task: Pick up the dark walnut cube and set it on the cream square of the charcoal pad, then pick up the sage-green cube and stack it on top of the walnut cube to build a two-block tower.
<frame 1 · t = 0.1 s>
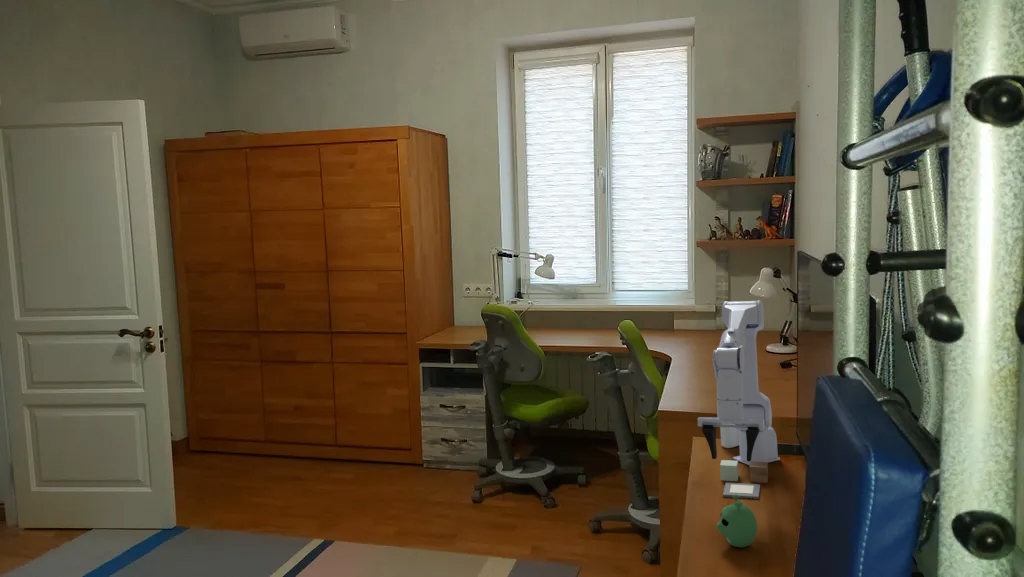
hand: (731, 459, 159), 11 cm above the table, tool pointing down, fingers open, 7 cm apart
alien toy: (738, 546, 140), on the table
charcoal blueprint pad: (741, 491, 167), on the table
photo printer: (736, 444, 203), on the table
walnut block: (759, 479, 174), on the table
sage block: (729, 478, 177), on the table
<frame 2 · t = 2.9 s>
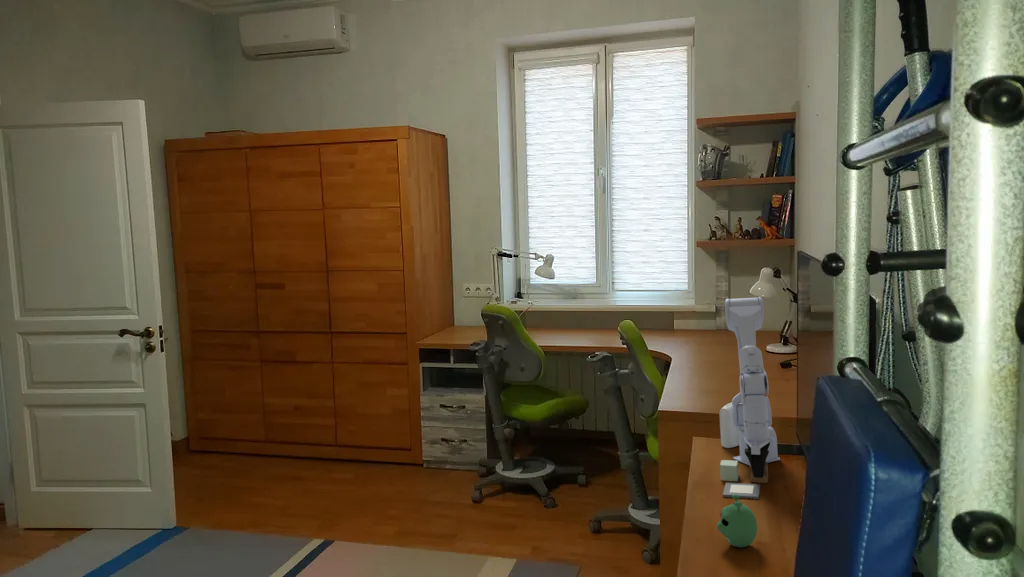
hand: (759, 473, 174), 1 cm above the table, tool pointing down, fingers closed on walnut block, 4 cm apart
walnut block: (759, 479, 174), on the table, touching gripper
everything else where it was.
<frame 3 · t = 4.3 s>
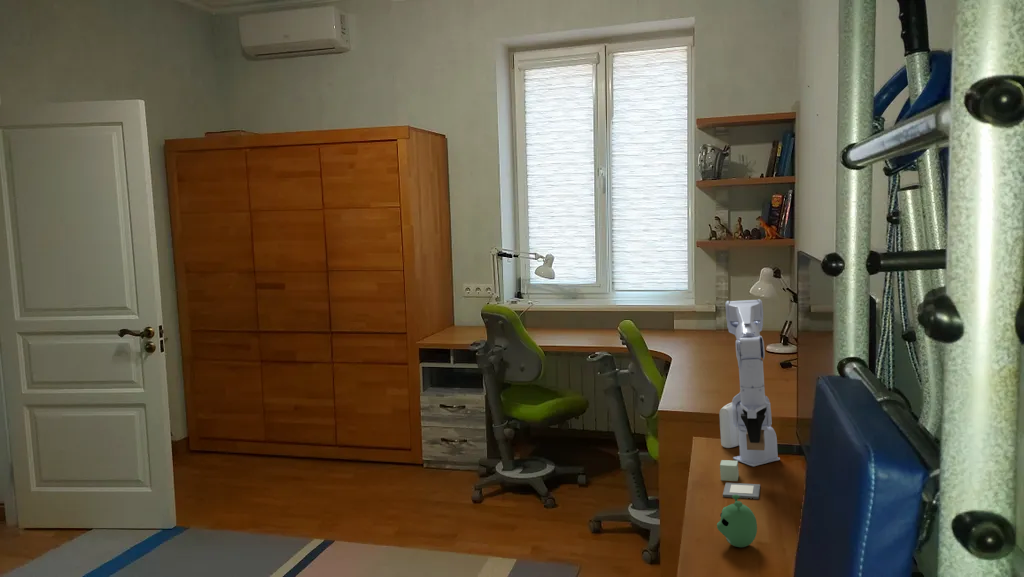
hand: (755, 439, 173), 10 cm above the table, tool pointing down, fingers closed on walnut block, 4 cm apart
walnut block: (756, 447, 173), point 8 cm above the table, touching gripper
everything else where it was.
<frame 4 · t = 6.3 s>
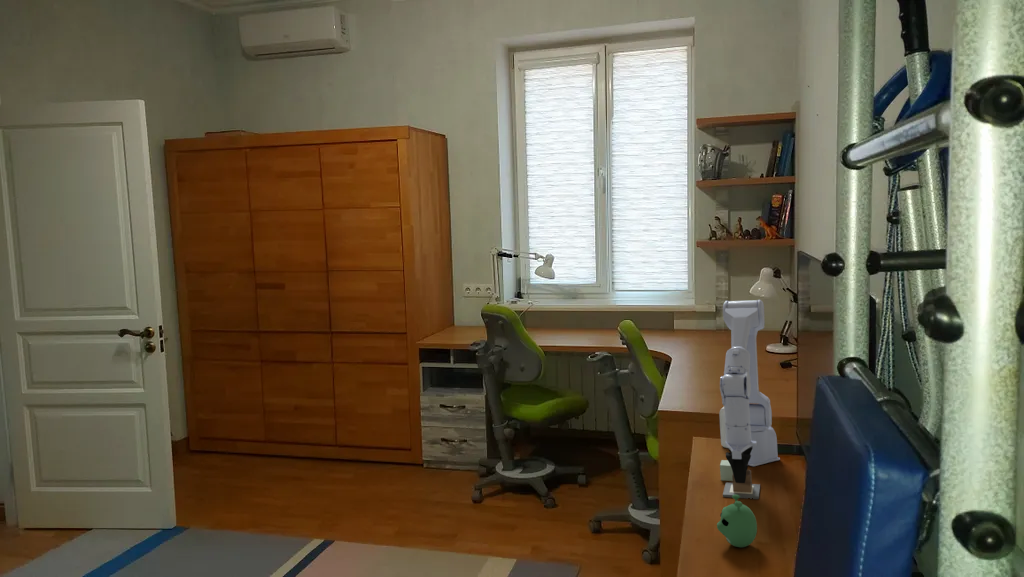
hand: (741, 479, 167), 3 cm above the table, tool pointing down, fingers closed on walnut block, 4 cm apart
walnut block: (742, 489, 167), point 1 cm above the table, touching charcoal blueprint pad, gripper
everything else where it was.
when the fingers open (3 cm above the table, at t = 6.6 s): walnut block stays where it is, resting on charcoal blueprint pad.
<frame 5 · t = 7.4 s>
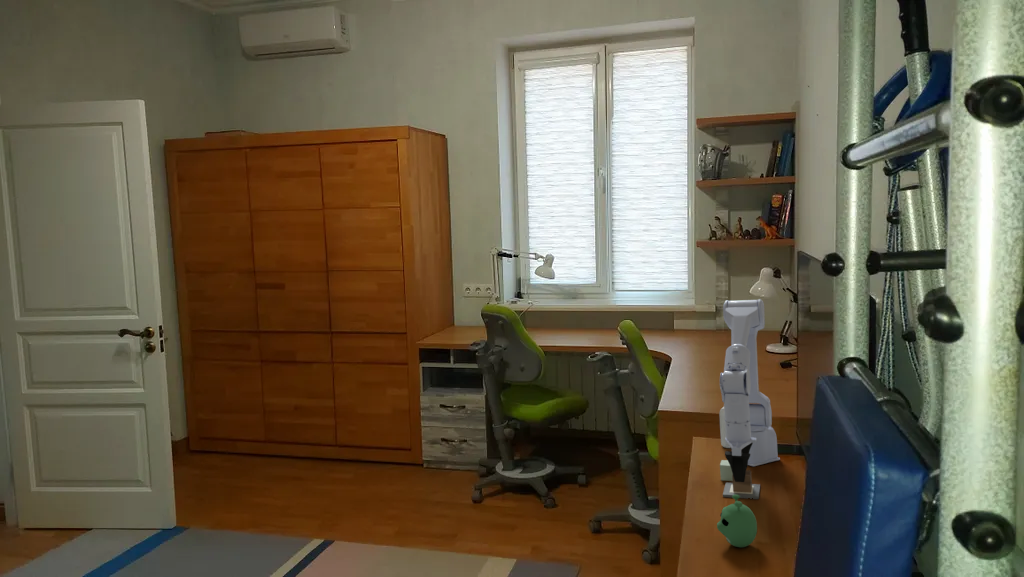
hand: (740, 475, 167), 4 cm above the table, tool pointing down, fingers open, 7 cm apart
walnut block: (742, 489, 167), point 1 cm above the table, touching charcoal blueprint pad
everything else where it was.
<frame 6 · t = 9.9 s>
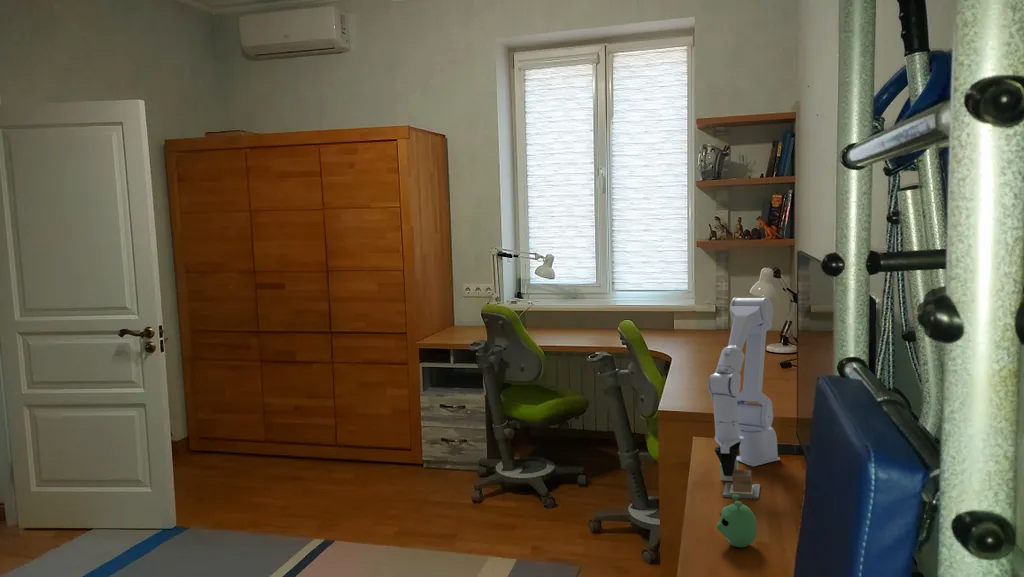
hand: (729, 472, 177), 1 cm above the table, tool pointing down, fingers closed on sage block, 4 cm apart
sage block: (729, 477, 177), on the table, touching gripper
everything else where it was.
when the fingers open (7 cm above the table, at t = 13.0 s): sage block stays where it is, resting on walnut block.
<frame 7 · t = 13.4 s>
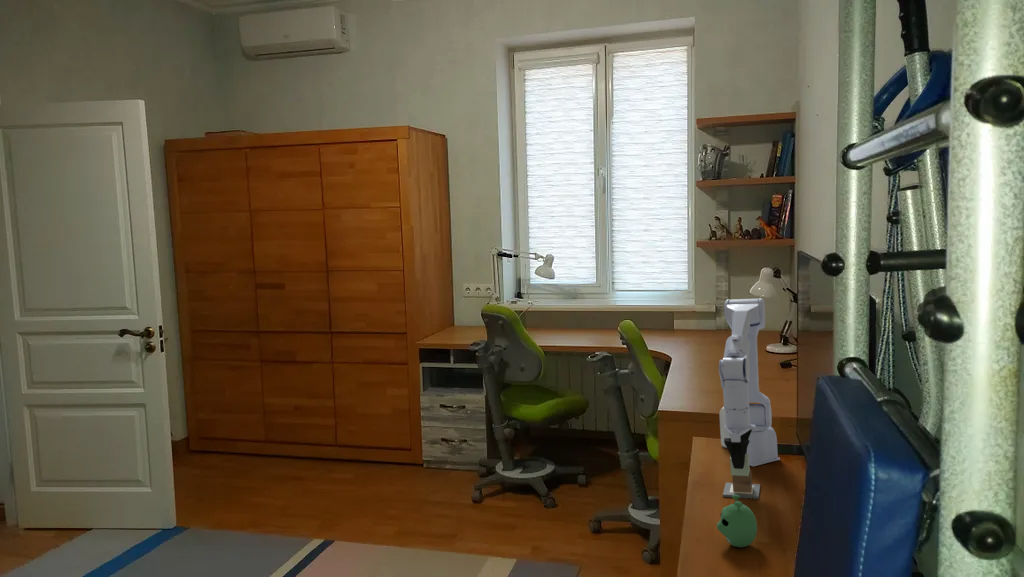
hand: (740, 462, 167), 7 cm above the table, tool pointing down, fingers open, 7 cm apart
walnut block: (742, 489, 167), point 1 cm above the table, touching charcoal blueprint pad, sage block
sage block: (740, 472, 167), point 5 cm above the table, touching walnut block
everything else where it was.
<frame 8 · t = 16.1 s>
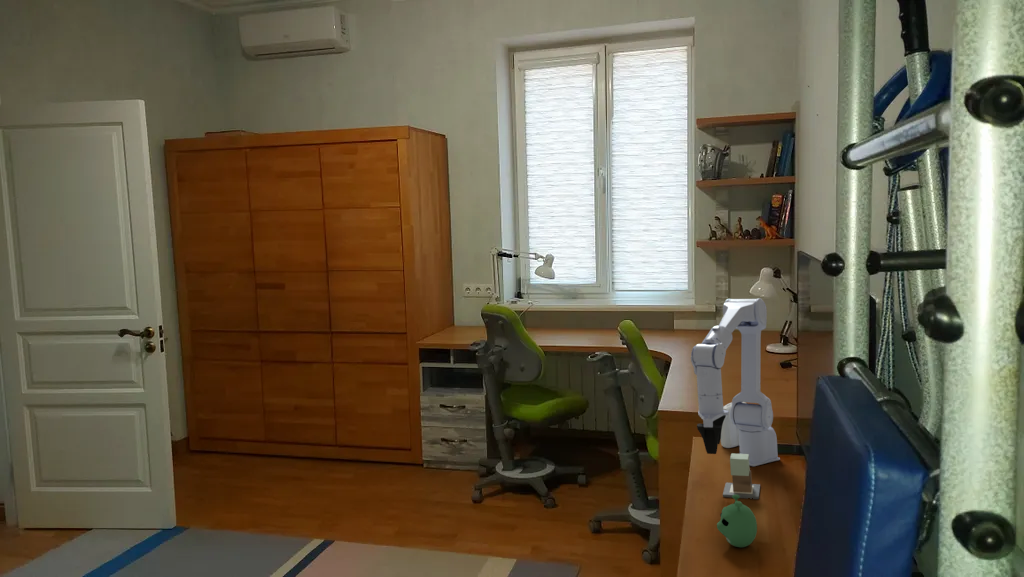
hand: (713, 448, 169), 10 cm above the table, tool pointing down, fingers open, 7 cm apart
nothing on the table moved.
at the end: walnut block 0.3 cm off-centre on the charcoal blueprint pad, point 0.7 cm above the charcoal blueprint pad's base; sage block 0.3 cm off-centre on the walnut block, point 4.0 cm above the walnut block's base; sage block tilted 0° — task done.
